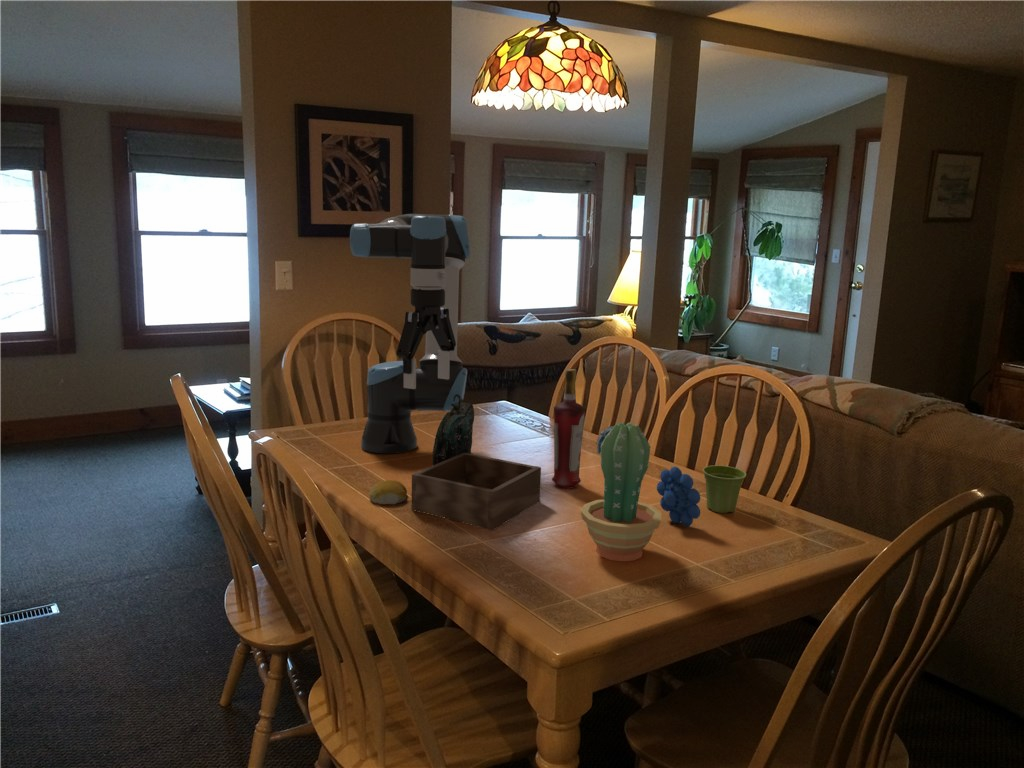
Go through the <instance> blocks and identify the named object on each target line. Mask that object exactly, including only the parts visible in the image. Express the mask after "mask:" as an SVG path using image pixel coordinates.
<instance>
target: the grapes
mask: <svg viewBox="0 0 1024 768" xmlns="http://www.w3.org/2000/svg"><path fill="white" fill-rule="evenodd" d="M659 476H660V477H659V478H660V480H661V481H658V482H657V485H656V491H657V493H658V494H659V495H660V496H661V499H660V501H659V504H660V508H661V509H662V510H664V511H665V512H669V513H668V516H669V518H670V521H672V522H673V523H674V524H680V523H681V524H682V525H683V526H685V527H691V526H692V525H693V523H694V520H695V519H696V520H697V519H699V517H700V516H701V509H700V507H699V506H698V504H699V503H700V502H701V494H700V492H699V491H698V490H697V489H696V488H693V486H694V480H693V478H692V477H691V475H689V474H687V473H683V472H682V470H681V469H680V468H679V467H678V466H672V467H671V468H670V469H669V470H668V469H663V470H662V471H660V475H659Z"/></svg>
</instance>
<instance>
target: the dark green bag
mask: <svg viewBox="0 0 1024 768" xmlns="http://www.w3.org/2000/svg"><path fill="white" fill-rule="evenodd" d="M456 396H458V398H459V403H458V402H457V403H455V404H451V405H452V408H451V411H448V412H447V413H445V415H444V416H443V417H442V419H441V421H440V423H439V425H438V427H437V430H436V434H435V437H434V443H433V450H432V466H433V465H436V464H438V463H440V462H443V461H445V460H447V459H450V458H452V457H455V456H457V455H459V454H462V453H464V452H465V453H470V454H472V446H473V425H474V421H475V409H474V404H472V403H469V402H465V401H464V398H463V399H462V398H461V397H460V396H459V395H458V394H455V395H454V396H453V401H455V398H456Z"/></svg>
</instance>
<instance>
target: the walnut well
mask: <svg viewBox="0 0 1024 768" xmlns="http://www.w3.org/2000/svg"><path fill="white" fill-rule="evenodd" d="M541 476H542V467H541V466H535V465H531V464H525V463H520V462H516V461H510V460H505V459H500V458H495V457H490V456H484V455H480V454H479V455H478V454H474V453H471V454H470V453H465V452H464V453H462V454H459V455H457V456H455V457H452V458H450V459H447V460H445V461H443V462H440V463H438V464H436V465H433V464H432V465H431V466H429V467H426V468H423V469H422V470H418V471H416V472H414V473H412V474H411V511H413V510H416V511H415V512H417V511H420V512H419V513H421V512H425V513H429V514H433V515H432V516H434V515H437V516H436V517H438V516H441V517H440V518H442V517H445V518H444V519H446V518H449V519H448V520H450V519H452V520H451V521H454V520H456V521H455V522H458V521H460V522H459V523H462V522H464V523H463V524H466V523H468V524H467V525H470V524H472V525H471V526H474V525H475V527H478V526H479V528H482V527H483V529H486V528H487V530H491V531H493V529H494V530H495V529H497V528H498V527H500V526H502V525H503V523H504V524H505V523H507V522H509V521H510V520H511V519H513V518H515V517H517V516H519V515H520V514H522V513H523V512H525V511H527V510H528V509H531V508H532V507H533V506H535V505H537V504H539V503H541V483H542V482H541V481H542V480H541V479H542V477H541ZM425 513H424V514H425ZM429 514H428V515H429ZM508 520H509V521H508ZM506 521H507V522H506Z"/></svg>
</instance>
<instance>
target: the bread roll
mask: <svg viewBox="0 0 1024 768" xmlns="http://www.w3.org/2000/svg"><path fill="white" fill-rule="evenodd" d="M407 495H408V490H407V487H406V486H405V485H404V484H403V483H402V482H400V481H397V480H394V479H389V480H388V479H387V480H382V481H380V482H378V483H377V484H375V485H374V486H372V488H371V489H370V492H369V499H370V501H371V502H372V503H373V504H377V503H378V504H377V505H381V504H393V505H397V504H396V503H399V504H401V503H403V502H405V501H406V498H407ZM402 501H403V502H402ZM400 502H401V503H400Z"/></svg>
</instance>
